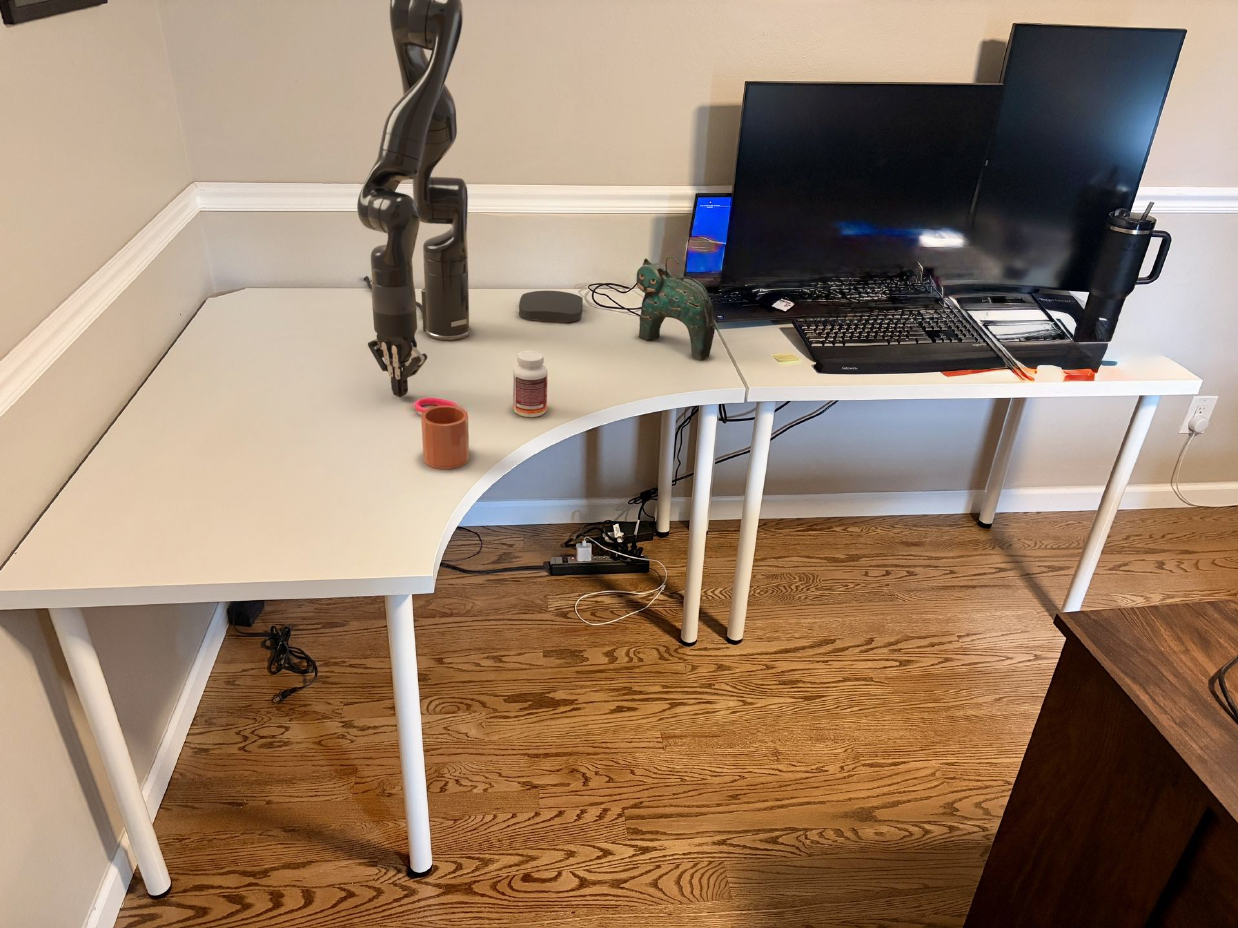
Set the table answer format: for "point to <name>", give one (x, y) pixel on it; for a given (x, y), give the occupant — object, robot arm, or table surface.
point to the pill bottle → (530, 384)
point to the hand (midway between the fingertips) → (400, 394)
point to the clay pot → (445, 437)
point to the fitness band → (431, 401)
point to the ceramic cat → (675, 306)
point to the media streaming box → (551, 306)
